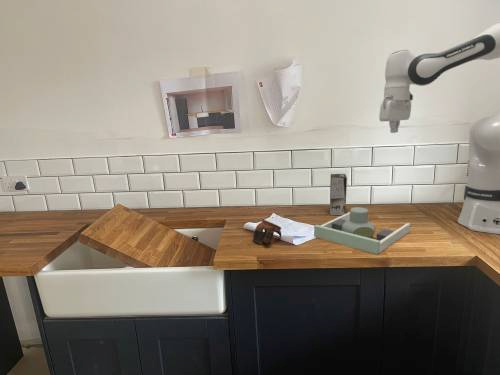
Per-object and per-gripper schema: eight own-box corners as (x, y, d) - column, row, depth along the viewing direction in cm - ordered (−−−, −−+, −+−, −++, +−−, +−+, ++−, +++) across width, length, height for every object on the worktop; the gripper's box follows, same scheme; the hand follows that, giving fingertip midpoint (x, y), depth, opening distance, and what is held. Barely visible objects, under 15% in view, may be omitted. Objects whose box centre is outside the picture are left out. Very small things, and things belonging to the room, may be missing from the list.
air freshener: (347, 242, 115) (348, 214, 113) (338, 233, 123) (339, 206, 121) (378, 240, 116) (380, 212, 114) (367, 231, 124) (369, 205, 122)
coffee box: (345, 215, 143) (347, 177, 139) (329, 215, 144) (330, 177, 140) (344, 209, 151) (345, 173, 148) (329, 208, 153) (330, 173, 149)
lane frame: (409, 231, 123) (410, 220, 122) (377, 254, 105) (377, 242, 104) (350, 218, 139) (351, 208, 138) (314, 236, 121) (314, 225, 120)
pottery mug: (248, 238, 123) (257, 217, 123) (272, 248, 124) (281, 227, 124) (253, 242, 111) (263, 219, 111) (280, 253, 112) (289, 230, 112)
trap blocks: (395, 238, 117) (395, 231, 116) (387, 243, 113) (388, 236, 112) (340, 225, 131) (340, 219, 131) (331, 229, 127) (332, 223, 127)
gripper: (392, 95, 122) (390, 134, 125) (414, 95, 136) (412, 131, 139) (375, 96, 126) (374, 134, 129) (398, 96, 140) (396, 131, 143)
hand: (394, 132), depth 134 cm, fingers closed
